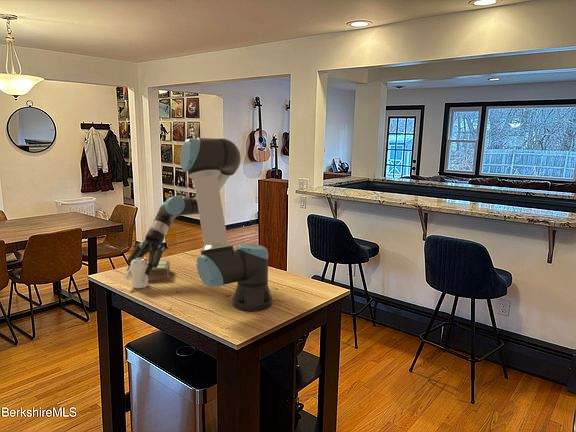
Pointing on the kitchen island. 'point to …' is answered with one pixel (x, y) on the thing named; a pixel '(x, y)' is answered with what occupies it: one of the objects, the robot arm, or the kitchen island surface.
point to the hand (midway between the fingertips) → (134, 279)
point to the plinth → (159, 271)
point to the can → (138, 272)
